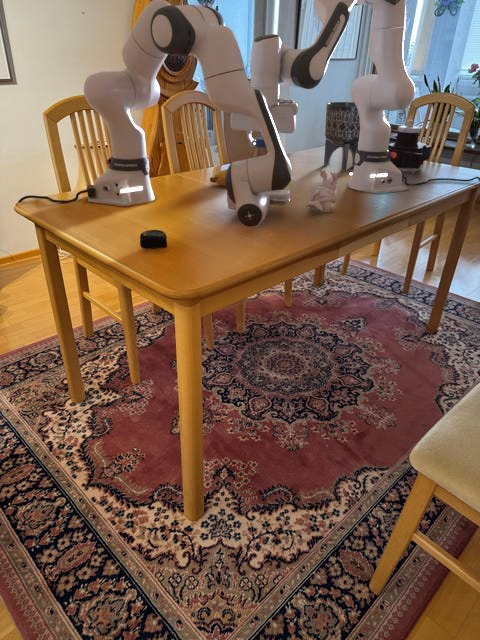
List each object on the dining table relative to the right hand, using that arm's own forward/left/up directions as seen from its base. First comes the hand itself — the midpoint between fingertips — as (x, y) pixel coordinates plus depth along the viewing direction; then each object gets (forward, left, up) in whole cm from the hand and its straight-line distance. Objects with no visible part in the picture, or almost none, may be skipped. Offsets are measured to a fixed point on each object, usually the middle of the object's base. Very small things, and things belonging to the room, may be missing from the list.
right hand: (262, 146), depth 143 cm
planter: (-55, -55, -19) cm, 81 cm away
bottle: (0, 0, -19) cm, 19 cm away
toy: (+4, -31, -19) cm, 37 cm away
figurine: (-19, +8, -19) cm, 28 cm away
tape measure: (+37, +32, -19) cm, 53 cm away
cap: (0, 0, +2) cm, 2 cm away
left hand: (0, -1, -13) cm, 13 cm away
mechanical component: (-84, -47, -19) cm, 98 cm away
